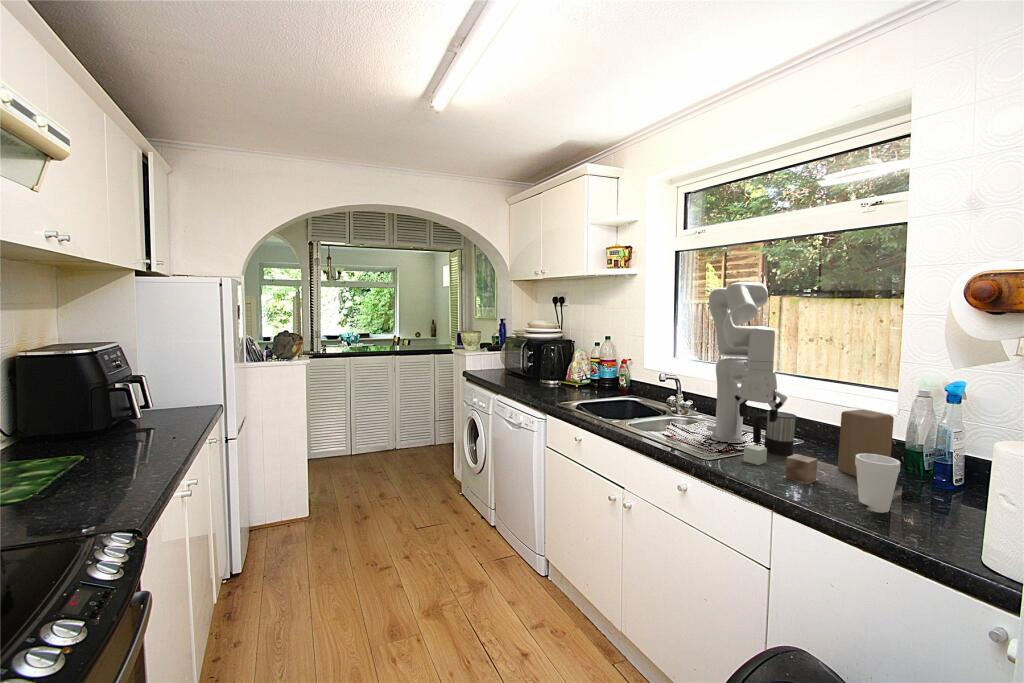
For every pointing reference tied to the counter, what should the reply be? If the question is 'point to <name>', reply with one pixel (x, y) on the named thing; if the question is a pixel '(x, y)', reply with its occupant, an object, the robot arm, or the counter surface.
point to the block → (863, 437)
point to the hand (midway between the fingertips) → (757, 418)
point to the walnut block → (801, 468)
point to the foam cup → (876, 480)
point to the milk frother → (776, 433)
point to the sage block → (755, 454)
